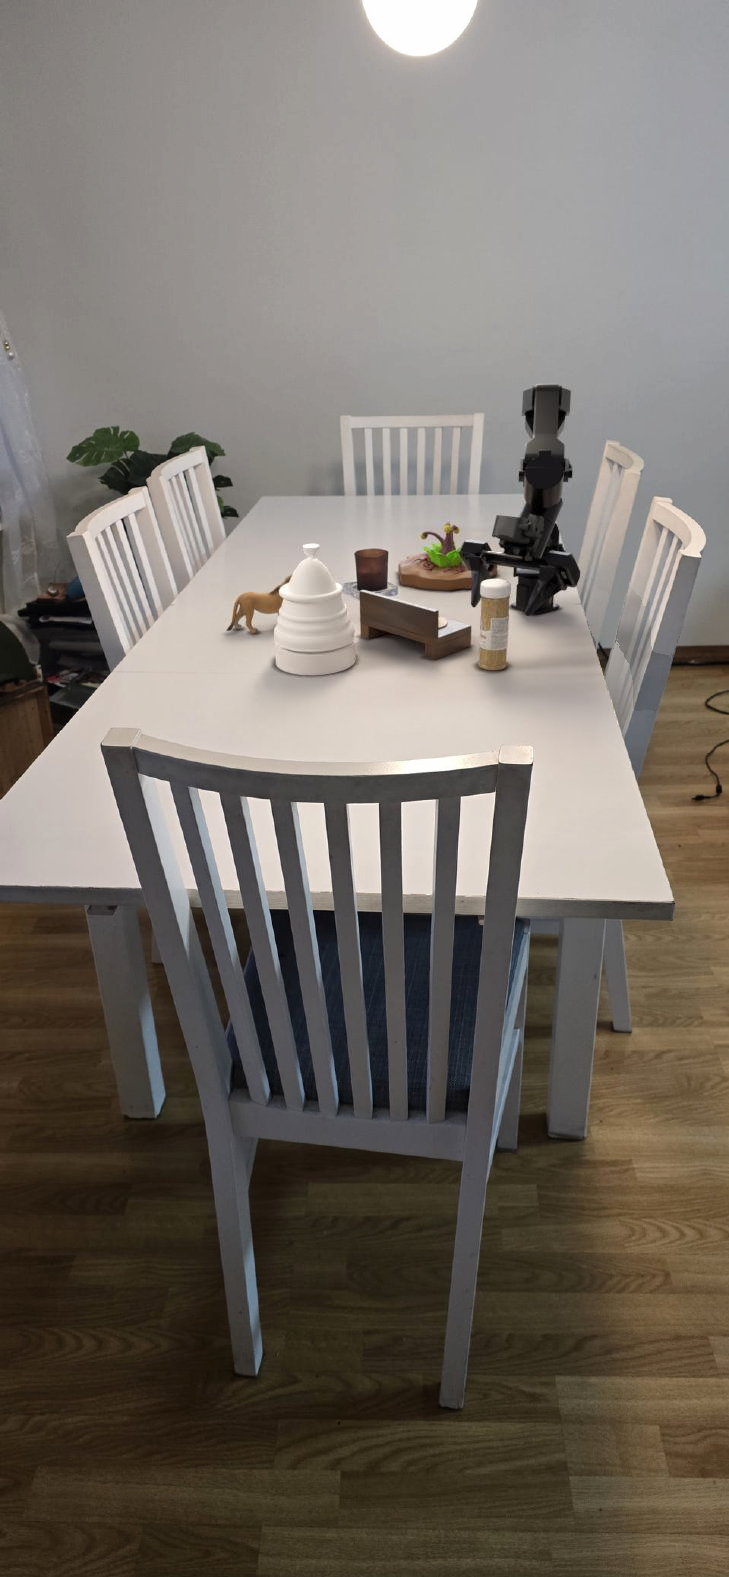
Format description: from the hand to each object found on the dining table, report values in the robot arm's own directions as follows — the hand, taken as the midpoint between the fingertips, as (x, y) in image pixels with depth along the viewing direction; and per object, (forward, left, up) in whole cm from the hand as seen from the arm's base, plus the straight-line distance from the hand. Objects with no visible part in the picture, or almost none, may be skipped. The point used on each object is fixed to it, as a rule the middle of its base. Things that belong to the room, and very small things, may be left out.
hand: (499, 610), depth 152 cm
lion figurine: (+18, -39, -9) cm, 44 cm away
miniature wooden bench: (+3, -17, -9) cm, 19 cm away
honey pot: (+21, -20, -9) cm, 30 cm away
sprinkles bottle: (+1, 0, -9) cm, 9 cm away
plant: (-26, -43, -9) cm, 51 cm away
